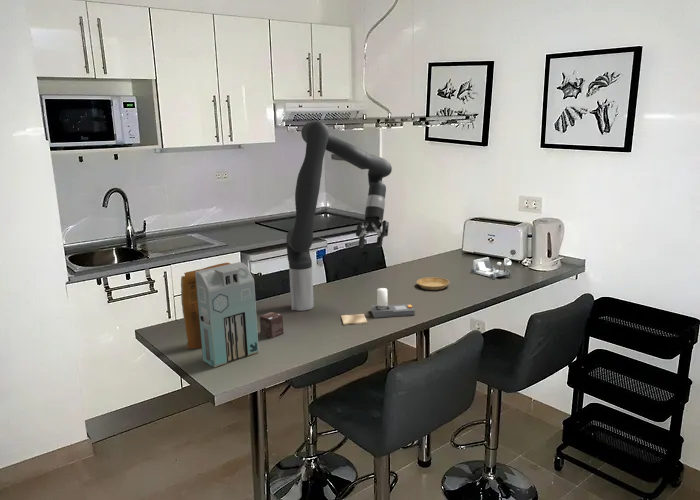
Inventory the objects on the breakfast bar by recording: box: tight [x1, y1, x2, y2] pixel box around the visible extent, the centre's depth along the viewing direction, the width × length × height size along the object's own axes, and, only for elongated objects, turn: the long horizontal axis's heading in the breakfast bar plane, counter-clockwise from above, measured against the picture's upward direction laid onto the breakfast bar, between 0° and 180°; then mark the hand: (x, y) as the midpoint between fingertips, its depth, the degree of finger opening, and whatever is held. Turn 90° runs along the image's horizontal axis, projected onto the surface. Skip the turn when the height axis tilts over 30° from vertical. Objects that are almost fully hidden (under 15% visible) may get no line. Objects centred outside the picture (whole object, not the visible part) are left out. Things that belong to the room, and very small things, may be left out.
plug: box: [376, 287, 389, 310], centre depth 220 cm, size 4×4×10 cm
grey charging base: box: [370, 303, 416, 319], centre depth 221 cm, size 16×8×3 cm, turn 97°
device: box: [195, 261, 260, 368], centre depth 180 cm, size 16×8×30 cm, turn 133°
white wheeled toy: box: [470, 256, 512, 281], centre depth 270 cm, size 18×10×12 cm
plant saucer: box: [416, 276, 450, 291], centre depth 255 cm, size 15×15×3 cm
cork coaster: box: [340, 313, 368, 326], centre depth 215 cm, size 9×9×1 cm
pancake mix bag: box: [180, 262, 232, 350], centre depth 192 cm, size 7×19×28 cm, turn 127°
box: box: [259, 311, 284, 339], centre depth 202 cm, size 6×6×7 cm
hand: (369, 246), depth 224 cm, fingers open, 8 cm apart
